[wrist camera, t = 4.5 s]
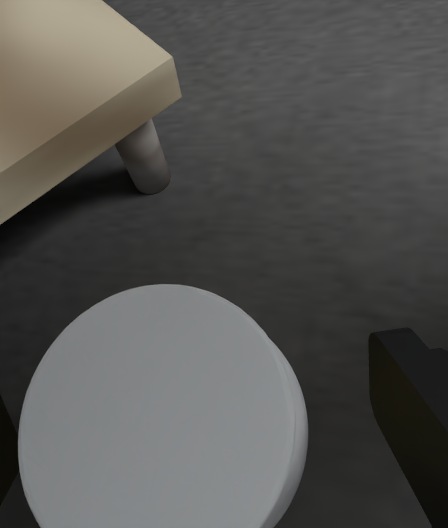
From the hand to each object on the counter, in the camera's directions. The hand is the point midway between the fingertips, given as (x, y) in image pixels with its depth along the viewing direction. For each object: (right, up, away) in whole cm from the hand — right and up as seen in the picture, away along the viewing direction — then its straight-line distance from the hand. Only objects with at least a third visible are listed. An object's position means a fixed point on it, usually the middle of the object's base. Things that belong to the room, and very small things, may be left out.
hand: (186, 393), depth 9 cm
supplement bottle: (+1, -3, +5) cm, 5 cm away
